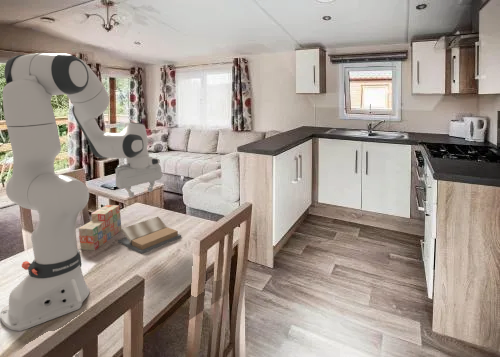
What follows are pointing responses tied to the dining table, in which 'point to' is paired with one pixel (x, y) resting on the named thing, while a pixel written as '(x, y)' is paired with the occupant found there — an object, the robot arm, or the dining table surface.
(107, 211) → the stack of blocks
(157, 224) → the ash plank
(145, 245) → the board
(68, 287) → the robot arm
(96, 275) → the dining table surface
